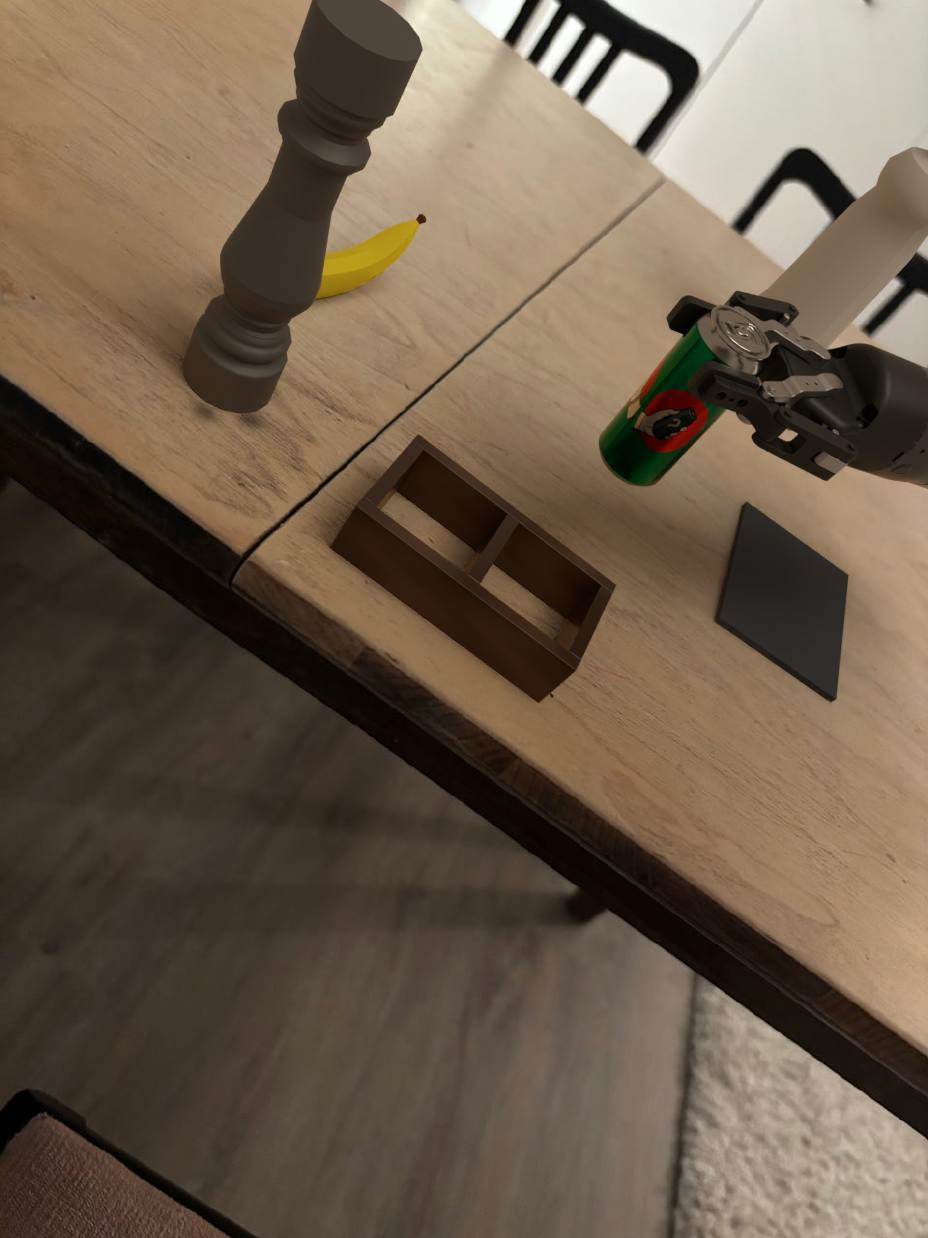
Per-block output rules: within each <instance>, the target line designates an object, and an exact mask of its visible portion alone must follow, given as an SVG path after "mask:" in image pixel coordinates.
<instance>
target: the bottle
mask: <svg viewBox="0 0 928 1238" xmlns="http://www.w3.org/2000/svg"><path fill="white" fill-rule="evenodd" d="M927 237H928V149H926V148H922V147H919V146H911V147H909V148H907V149H905V150H903V151H901V152H898V153H897V154H895V155H893V156H891V157H889V158H888V160H887V161H886V163H885V165H884V166H883V167H882V169H881V170H880V172H879V175H878V177H877V180H876V183H875V185H874V186H873V187H872V188H870V189H869V190H868V191H866V192H865V193H864V194H863V195H861V196H859V198H857V199H856V200H854V201H853V202H852V203H851V204H849V206H848V207H847V208H846V209H845V210H844V211H843V212H842V213H841V214H840V215H839V216H838V217H837V218H836V219H835V220H834V221H833V222H832V223H831V224H830V225H829V226H828V227H827V228H826V229H825V230H824V231H823V232H822V233H821V234H820V235H819V236H818V237H817V238H816V239H815V240H814V241H813V242H812V243H811V244H810V246H808V247H807V248H806V249H805V250H804V251H803V252H802V253H801V255H799V256H798V257H797V258H796V259H795V261H793V262H792V263H791V264H790V265H789V266H788V268H786V270H785V271H783V273H782V274H781V275H780V276H778V278H777V279H775V281H773V283H772V284H771V285H769V287H768V288H766V289H765V290H764V291H762V292H761V293H759V294H757V295H758V296H762V297H767V298H771V299H775V300H779V301H783V302H788V303H790V304H792V305H794V306H795V307H796V309H797V310H798V312H799V315H798V316H797V318H796V319H795V320H794V321H793V322H792V325H793V327H794V328H795V330H796V332H797V333H798V335H799V336H805V337H808V338H810V339H812V340H813V341H815V342H816V343H818V344H819V345H821V346H822V347H824V348H825V349H829V347H830V346H832V344H833V343H834V342H835V341H836V340H837V339H838V338H839V337H840V335H842V333H843V332H845V330H846V329H847V328H848V327H849V326H850V325H851V324H852V323H853V322H854V321H855V320H856V318H857V317H858V316H860V314H861V313H862V312H863V311H864V310H865V309H866V308H867V307H868V306H869V305H870V304H871V303H872V302H873V300H874V299H876V298H877V296H878V295H879V294H880V293H881V292H882V291H883V290H884V289H885V288H886V287H887V286H888V285H889V283H891V282H892V281H893V279H895V277H896V276H897V275H898V274H899V273H900V272H901V271H902V270H903V269H904V267H905V266H907V264H908V263H909V262H910V261H911V260H912V258H913V257H914V256H915V254H916V253H917V252H918V250H919V249H920V248H921V246H922V245H923V243H924V242H925V241H926V239H927ZM777 344H779V343H777V342H774V343H771V344H770V346H771V349H772V348H773V347H774V346H775V345H777ZM759 384H760V383H759ZM760 385H761V384H760Z"/></svg>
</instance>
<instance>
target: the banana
mask: <svg viewBox="0 0 928 1238" xmlns="http://www.w3.org/2000/svg"><path fill="white" fill-rule="evenodd" d="M425 223H427V217H426V216H425V215H424V213H418V215H417V217H416V218H415V219H412V220H411V219H410V220H407V221H401V222H399V223H396V224H394V225H391V226H389V227H387V228H385V229H383V230H381V231H380V232H378V233H376V234H374V235H373V236H371V237H369V238H367V239H366V240H364V241H362V242H361V243H358V244H356V245H353V246H351V247H347V248H344V249H339V250H336V251H335V250H334V251H331V252H326V254H325V260H324V267H323V274H322V281H321V287H320V289H319V291H318V293H317V295H316V298H315V299H322V298H328V297H333V296H336V295H341V294H344V293H347V292H350V291H352V290H355V289H357V288H359V287H362V286H363V285H365V284H367V283H368V282H371V281H372V280H374V279H375V278H376V277H378V276H380V275H381V274H382V273H383V272H384V271H386V270H387V269H388V268H389V267H391V266H393V265H394V263H395V262H396V261H398V260H399V258H400V257H401V256H402V255H403V254H404V252H405V251H406V250H407V249H408V247H410V245H411V244H412V242H413V240H414V238H415V236H416V234H417V232H418V229H419V227H420V225H422V224H425Z"/></svg>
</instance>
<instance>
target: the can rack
mask: <svg viewBox="0 0 928 1238" xmlns="http://www.w3.org/2000/svg"><path fill="white" fill-rule="evenodd" d="M396 492H398V493H400V494H401V495H402V496H404V498H406V499H407V500H409V501H410V502H412V503H413V504H414V505H416V506H417V507H418V508H420V509H421V510H422V511H423V512H425V513H426V514H427V515H429V516H430V517H431V518H433V519H434V520H435V521H437V522H438V523H439V524H440V525H442V526H443V527H445V528H446V529H447V530H449V531H450V532H451V533H453V534H454V535H455V536H457V537H458V538H459V539H461V540H462V541H463V542H465V544H467V545H469V546H470V547H471V548H472V549H474V550H475V553H474V554H473V556H472V557H471V559H470V560H469V562H468V563H467V565H466V566H465V568H464V569H463V571H462V569H460V568H458V567H457V566H456V565H454V563H452V562H451V561H449V560H448V559H447V558H445V556H442V555H441V553H439V552H437V551H436V550H435V549H433V548H432V547H431V546H429V544H426V543H425V542H424V541H422V540H421V539H420V538H418V537H417V536H416V535H414V534H413V533H412V532H411V531H409V530H408V529H407V528H405V527H404V526H403V525H401V524H400V523H399V522H397V521H396V520H395V519H393V518H392V517H391V516H389V515H388V514H387V513H385V512H384V511H383V508H384V507H385V506H386V504H387V503H388V502H389V501H390V500H391V498H392V497H393V496H394V495H395V494H396ZM329 548H331V549H332V550H333V551H335V552H336V553H337V554H338V555H340V556H341V557H342V558H344V559H345V560H346V561H348V562H349V563H350V564H352V565H353V566H354V567H356V568H357V569H359V570H360V571H361V572H362V573H364V574H365V575H366V576H368V577H369V578H371V580H373V581H375V583H377V584H379V585H380V586H382V588H384V589H386V590H387V591H388V592H389V593H390V594H392V595H394V596H395V597H396V598H398V599H399V600H400V601H401V602H403V603H404V604H406V605H407V606H408V607H410V608H411V609H412V610H414V611H415V612H416V613H418V614H419V615H421V617H423V618H425V619H426V620H427V621H429V622H430V623H431V624H432V625H434V626H435V627H436V628H438V629H439V630H441V631H442V632H443V633H444V634H446V635H447V636H449V637H450V638H452V639H453V640H454V641H456V642H457V643H458V644H459V645H461V646H462V647H463V648H465V649H466V650H468V651H469V652H470V653H472V654H473V656H476V657H477V658H478V659H480V660H481V661H483V662H484V663H485V664H486V665H488V666H489V667H490V668H492V669H493V670H494V671H496V672H497V673H499V674H500V675H501V676H502V677H504V678H505V679H507V680H508V681H509V682H511V683H512V684H513V685H515V686H516V687H517V688H518V689H520V690H522V691H523V692H524V693H526V694H527V695H528V696H529V697H531V698H532V699H533V700H535V701H536V702H538V703H541V702H542V701H543V700H544V699H546V698H547V697H548V696H549V695H550V694H552V692H553V691H555V690H556V689H557V688H558V687H560V686H561V685H562V684H563V683H565V682H566V680H568V679H569V678H570V677H571V676H572V675H574V674H575V673H576V672H577V670H578V668H579V666H580V664H581V662H582V660H583V657H584V655H585V653H586V651H587V650H588V647H589V644H590V643H591V640H592V639H593V636H594V634H595V632H596V630H597V627H598V626H599V624H600V621H601V619H602V617H603V615H604V612H605V611H606V609H607V606H608V604H609V602H610V600H611V598H612V596H613V594H614V592H615V589H616V587H617V584H616V583H615V582H614V581H612V580H611V579H609V578H608V577H607V576H605V575H604V574H603V573H602V572H600V571H599V570H598V569H596V568H595V567H594V566H592V565H591V564H590V563H588V561H587V560H585V559H583V558H582V557H581V556H580V555H578V554H577V553H576V552H574V551H573V550H571V549H570V548H569V547H568V546H567V545H565V544H564V543H562V542H561V541H560V540H559V539H557V538H556V537H554V536H553V535H552V534H551V533H550V532H548V531H547V530H545V528H543V527H542V526H540V525H539V524H537V523H536V522H535V521H534V520H532V519H531V518H529V516H527V515H526V514H525V513H524V512H522V511H520V510H519V509H518V508H517V507H515V506H514V505H513V504H512V503H510V502H509V501H508V500H506V499H505V498H503V497H502V496H500V494H498V493H497V492H496V491H494V490H493V489H492V488H491V487H489V486H488V485H486V484H485V483H484V482H482V480H480V479H478V477H476V476H475V475H473V474H472V473H471V472H470V471H468V470H467V469H465V468H464V467H463V466H462V465H460V464H459V463H458V462H456V461H455V460H454V459H452V458H451V457H450V456H448V455H447V454H446V453H444V451H442V450H441V449H439V448H438V447H437V446H436V445H434V444H433V443H431V442H430V441H428V439H426V438H425V437H423V435H421V434H419V433H417V435H416V436H415V437H414V438H413V439H412V440H411V442H410V443H409V444H408V445H407V446H406V447H405V448H404V449H403V451H402V452H401V453H400V454H399V455H398V456H397V458H395V460H394V461H393V462H392V463H391V464H390V465H389V467H388V468H387V469H386V470H385V471H384V472H383V473H382V474H381V476H380V477H379V478H378V479H377V480H376V482H375V483H374V484H372V486H371V487H370V488H369V489H368V490H367V492H366V493H365V494H364V495H363V496H362V498H361V499H360V500H359V501H358V502H357V504H356V505H355V506H354V507H353V509H352V510H351V512H350V514H349V516H348V517H347V519H346V520H345V522H344V523H343V525H342V527H341V529H340V530H339V531H338V533H337V534H336V537H334V539H333V541H332V543H331V545H330V546H329ZM493 565H495V566H497V568H499V569H500V570H502V571H503V572H504V573H506V574H507V575H508V576H510V577H511V578H512V579H513V580H515V581H516V582H518V584H520V585H521V586H523V587H524V588H525V589H527V590H528V591H529V592H531V593H532V594H534V596H536V597H537V598H538V599H540V600H542V601H543V602H544V603H545V604H546V605H548V606H549V607H551V608H552V609H553V610H554V611H556V612H557V613H558V614H560V615H561V616H562V617H564V618H565V620H564V621H563V624H562V625H561V628H560V630H559V632H558V634H557V635H556V637H555V639H553V638H551V636H549V635H548V634H546V633H545V632H544V631H543V630H541V629H540V628H539V627H537V626H536V625H534V624H533V623H532V622H530V620H528V619H527V618H525V617H524V616H522V615H521V614H520V613H519V612H517V611H516V610H515V609H513V608H512V607H510V606H509V605H508V604H506V603H505V602H504V601H502V600H501V599H500V598H498V597H497V596H496V595H495V594H493V593H492V592H491V591H489V590H487V588H485V587H484V586H483V585H481V583H482V582H483V580H484V579H485V577H486V576H487V574H488V573H489V571H490V570H491V568H492V567H493Z"/></svg>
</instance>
